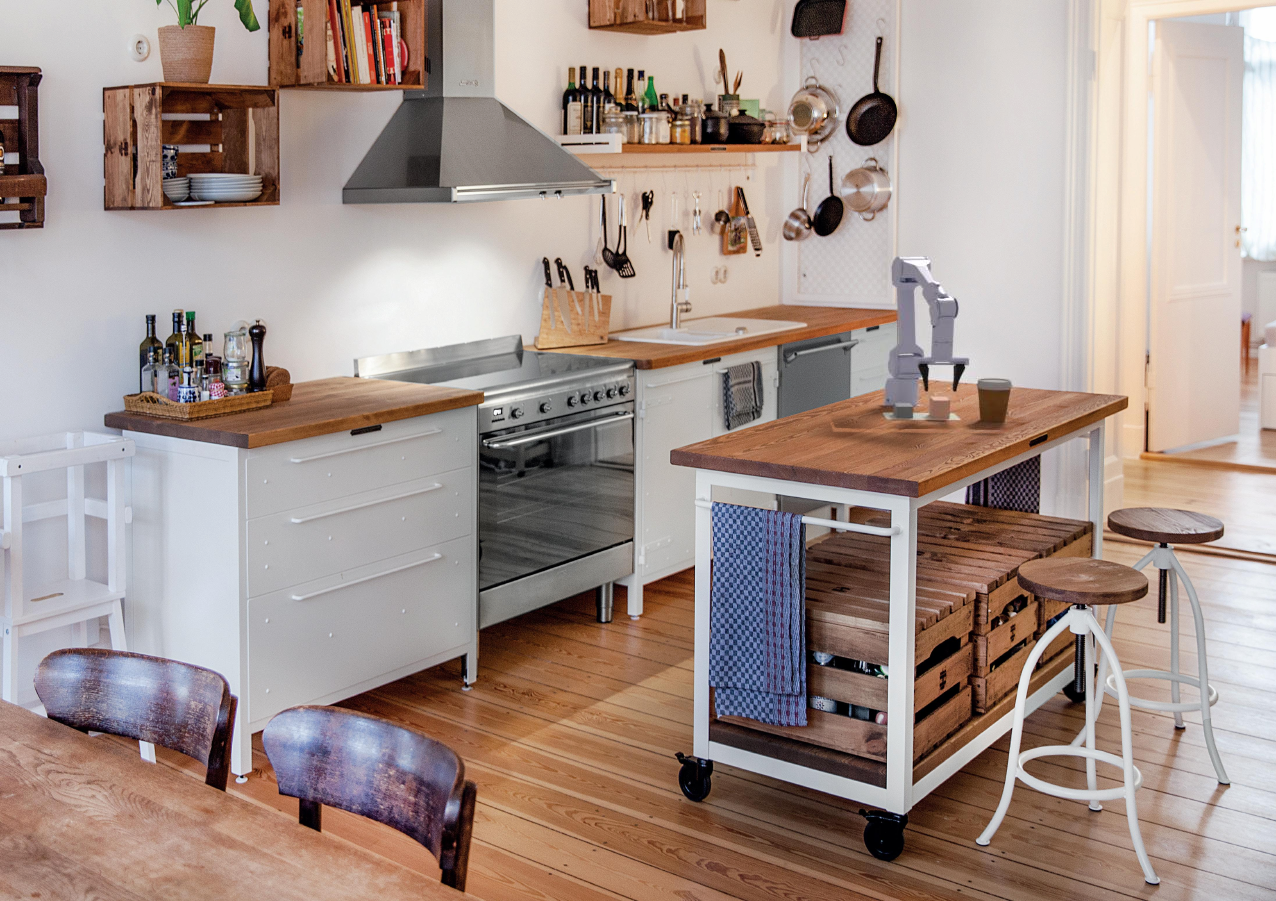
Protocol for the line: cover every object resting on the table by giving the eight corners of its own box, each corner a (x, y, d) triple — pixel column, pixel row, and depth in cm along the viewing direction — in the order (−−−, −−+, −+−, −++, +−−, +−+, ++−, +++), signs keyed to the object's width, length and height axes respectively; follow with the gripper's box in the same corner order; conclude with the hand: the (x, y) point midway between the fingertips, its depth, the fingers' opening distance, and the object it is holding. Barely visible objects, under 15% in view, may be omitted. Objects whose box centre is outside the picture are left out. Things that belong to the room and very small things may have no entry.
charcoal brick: (896, 418, 345) (896, 406, 344) (893, 414, 352) (893, 402, 351) (912, 418, 345) (913, 406, 344) (909, 414, 352) (910, 402, 351)
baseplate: (886, 422, 343) (887, 419, 343) (882, 416, 355) (882, 412, 355) (961, 423, 341) (961, 420, 341) (953, 416, 353) (954, 413, 353)
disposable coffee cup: (1004, 428, 335) (1007, 383, 332) (969, 424, 340) (971, 381, 337) (1014, 423, 343) (1017, 379, 340) (980, 420, 348) (982, 377, 345)
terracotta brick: (932, 418, 344) (933, 400, 343) (929, 414, 351) (929, 396, 350) (949, 418, 344) (950, 400, 343) (945, 414, 351) (946, 396, 350)
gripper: (917, 343, 340) (915, 392, 343) (971, 343, 339) (969, 393, 342) (914, 340, 347) (912, 389, 350) (967, 341, 346) (965, 389, 349)
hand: (940, 391), depth 346 cm, fingers open, 7 cm apart
